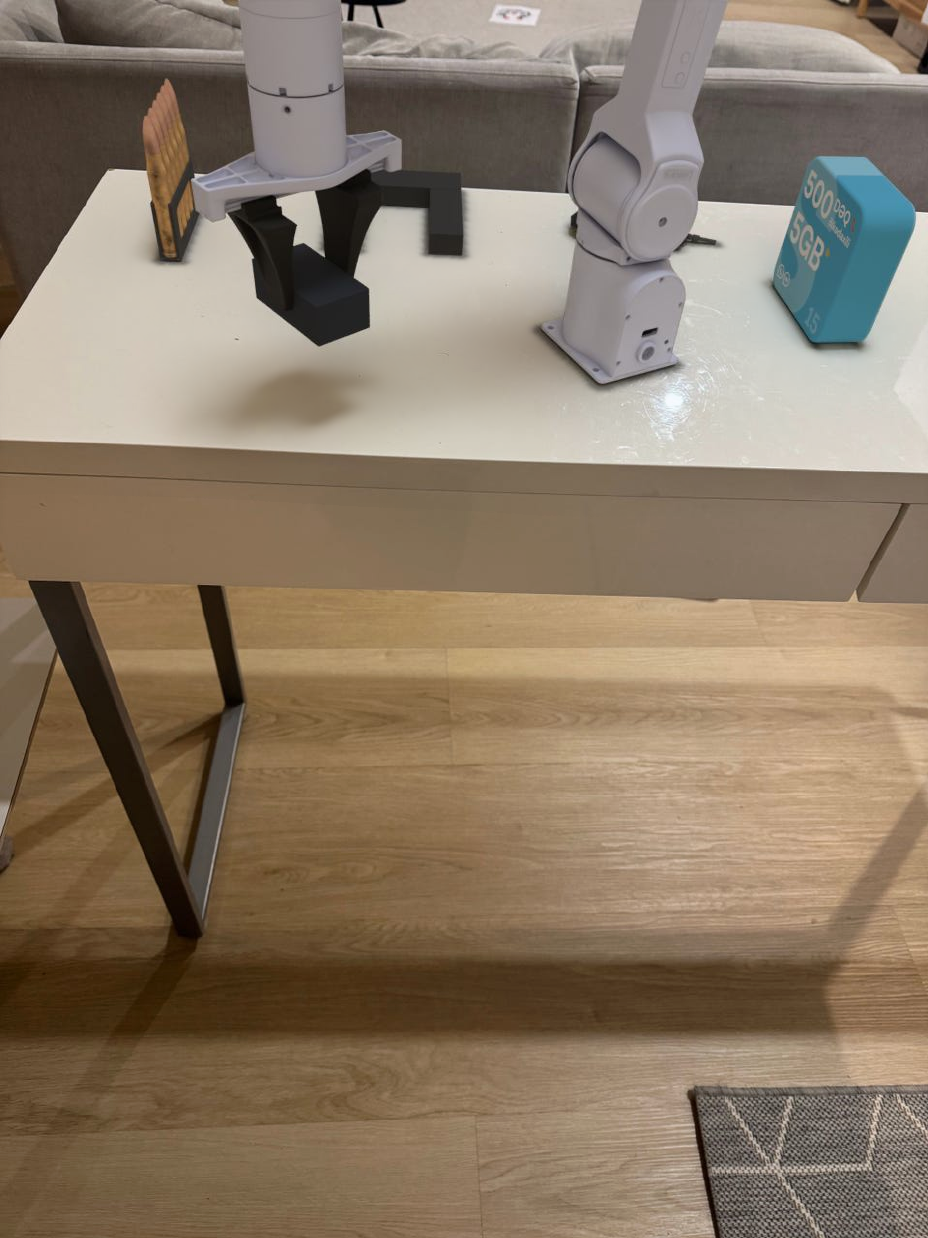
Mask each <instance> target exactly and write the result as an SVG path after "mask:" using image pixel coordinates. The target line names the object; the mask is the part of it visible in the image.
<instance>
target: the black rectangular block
mask: <svg viewBox="0 0 928 1238" xmlns="http://www.w3.org/2000/svg"><path fill="white" fill-rule="evenodd" d="M251 265H252V271H253V272H252V273H253V282H254V289H255V297H256V299H257V300H258V301H260V302H261V303H262V304H263V305H265V306H266V307H267V308H269V309H270V310H271V311H272V312H274V313H275V314H276V315H277V316H279V317H280V318H281V319H283V321H285V322H286V323H288V324H289V325H290V326H291V327H293V328H294V329H295V330H297V331H298V332H299V333H300V334H302V335H303V336H304V337H305V338H306V339H308V340H309V341H311V343H313V344H315V345H316V346H317V347H318V348H320V347H322V346H325V345H328V344H330V343H333V342H336V341H338V340H341V339H344V338H346V337H349V336H351V335H354V334H358V333H359V332H362V331H365V330H367V329H370V328H371V307H370V306H371V304H370V302H371V301H370V287H368V286H367V285H365V284H364V283H362V282H361V281H359V280H358V279H357V278H356V277H355V276H354V277H352V276H351V275H349V274H348V273H346V272H345V271H344V270H342V269H341V268H339V267H338V266H336V265H335V264H334V263H332V262H331V261H329V260H328V259H326V258H325V255H322V254H320V253H319V252H318V251H316V250H315V249H313V248H312V247H311V246H309V245H308V244H306V243H305V242H301V243H298V244H295V245H293V253H292V276H293V287H294V300H293V310H290V311H287V312H284V311H282V310H281V309H280V308H279V307H277V306H276V305H275V304H274V303H272V302H271V301H270V300H269V296H268V293H267V290H266V287H265V284H264V281H263V278H262V276H261V273H260V271H259V268H258V266H257V264H256V261H255V259H254V257H253V258H251Z"/></svg>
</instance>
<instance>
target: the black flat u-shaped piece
mask: <svg viewBox="0 0 928 1238" xmlns="http://www.w3.org/2000/svg"><path fill="white" fill-rule="evenodd" d="M371 180H372V181H373V182H375V183H377V184H378V185H380V186H381V187H382V189H383V204H382V205H381V206H391V207H393V206H394V207H413V208H414V207H415V208H429V211H428V212H429V213H428V215H429V216H428V220H429V221H428V253H429V254H431V255H451V256H452V255H454V256H463V253H464V252H463V251H464V249H463V248H464V219H463V217H464V215H463V195H462V194H463V193H462V191H463V190H462V173H461V172H448V171H447V172H446V171H445V172H444V171H429V170H428V171H427V170H426V171H425V170H406V169H401V170H397V171H394V172H388V171H386V170H385V169H382V170H379V171H375V172H372V173H371Z"/></svg>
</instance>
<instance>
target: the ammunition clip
mask: <svg viewBox="0 0 928 1238" xmlns="http://www.w3.org/2000/svg"><path fill="white" fill-rule="evenodd" d="M176 96H177V95H176V93H175V90H174V88H173V85H172V84H171V81H170V80H169V78H164V82H163V85H161V87H160V89H159V92H157V93H156V97H155V99H153V100H152V104H151V107H149V108H148V111H147V114H146V115H144V117H143V121H142V141H143V147H144V154H145V160H146V161H145V162H146V175H147V181H148V185H149V191H150V196H151V200H150V203H149V206H150V211H151V217H152V221H153V227H154V233H155V237H156V244H157V248H158V255H159V259H160V261H166V262H182V260H183V257H184V256H185V253H186V251H187V248H188V245H189V243H190V239H191V237H192V235H193V232H194V229H195V226H196V224H197V222H198V219H199V217H200V213H199V212H197V211H196V208H195V202H194V196H193V190H192V184H191V179H193V178H196V175H195V170H194V165H193V164H194V163H193V157H190V155H189V148H188V143H187V142H188V141H187V138H186V137H187V136H186V132H185V128H184V126H183V121H182V119H181V118H182V117H181V113H180V109H179V104H178V100H177V97H176Z"/></svg>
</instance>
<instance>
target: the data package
mask: <svg viewBox="0 0 928 1238" xmlns="http://www.w3.org/2000/svg"><path fill="white" fill-rule="evenodd" d="M797 195H798V196H797V198H796V202H795V204H794V207H793V210H792V214H791V216H790V220H789V222H788V226H787V228H786V232H785V236H784V239H783V242H782V245H781V247H780V251H779V253H778V256H777V260H776V263H775V266H774V270H773V285H774V288H775V290H776V291H777V294H779V296H780V298H781V299H782V301H783V302H784V303H785V305H786V306H787V308H788V309H789V311H790V312H791V314H792V315H793V317H794V319H795V320H796V322H797V323H798V324H799V326H800V327H801V329H802V330H803V332H804V333H805V335H806V336H807V338H808V340H809V341H811V342H812V343H860V342H863V341H865V340H866V339H867V338H868V336H869V335H870V334H871V331H872V328H873V327H874V323H875V321H876V319H877V317H878V314H879V312H880V310H881V307H882V305H883V303H884V301H885V298H886V296H887V294H888V291H889V289H890V286H891V285H892V282H893V280H894V277H895V276H896V273H897V270H898V268H899V266H900V264H901V261H902V259H903V257H904V254H905V252H906V249H907V248H908V245H909V243H910V241H911V238H912V236H913V233H914V231H915V228H916V223H917V214H916V213H917V212H916V208H915V206H914V204H913V203H912V202H911V201H910V200H909V199H908V198H907V197H906V196H905V195H904V194H903V193H902V192H901V191H900V190H899V189H898V188H897V187H896V186H895V185H894V184H893V183H892V182H891V181H890V179H888V177H886V176H885V174H883V173H882V171H881V170H879V169H878V168H877V166H875V164H873V162H872V161H870V159H869V158H867V157H866V156H839V155H838V156H835V155H834V156H831V155H830V156H828V155H819V156H815V157H814V158H813V159H811V161H810V162H809V164H808V166H807V168H806V171H805V174H804V176H803V180H802V183H801V186H800V189H799V192H798V194H797Z"/></svg>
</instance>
